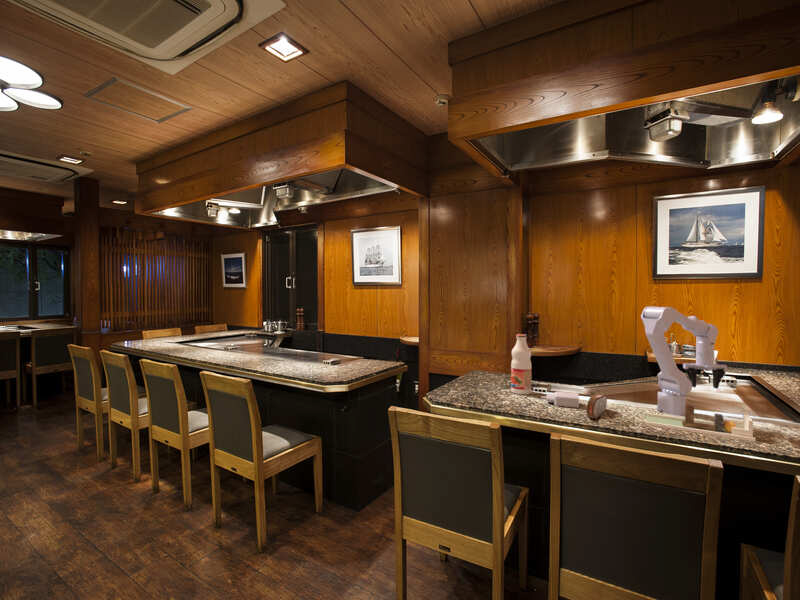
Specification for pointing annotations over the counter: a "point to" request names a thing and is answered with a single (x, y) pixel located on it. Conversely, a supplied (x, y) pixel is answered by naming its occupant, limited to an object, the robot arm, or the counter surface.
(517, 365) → the fruit juice
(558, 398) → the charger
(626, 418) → the counter surface
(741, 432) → the pitch
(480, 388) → the counter surface
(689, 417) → the striker
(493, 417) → the counter surface
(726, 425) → the ball
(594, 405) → the tin
